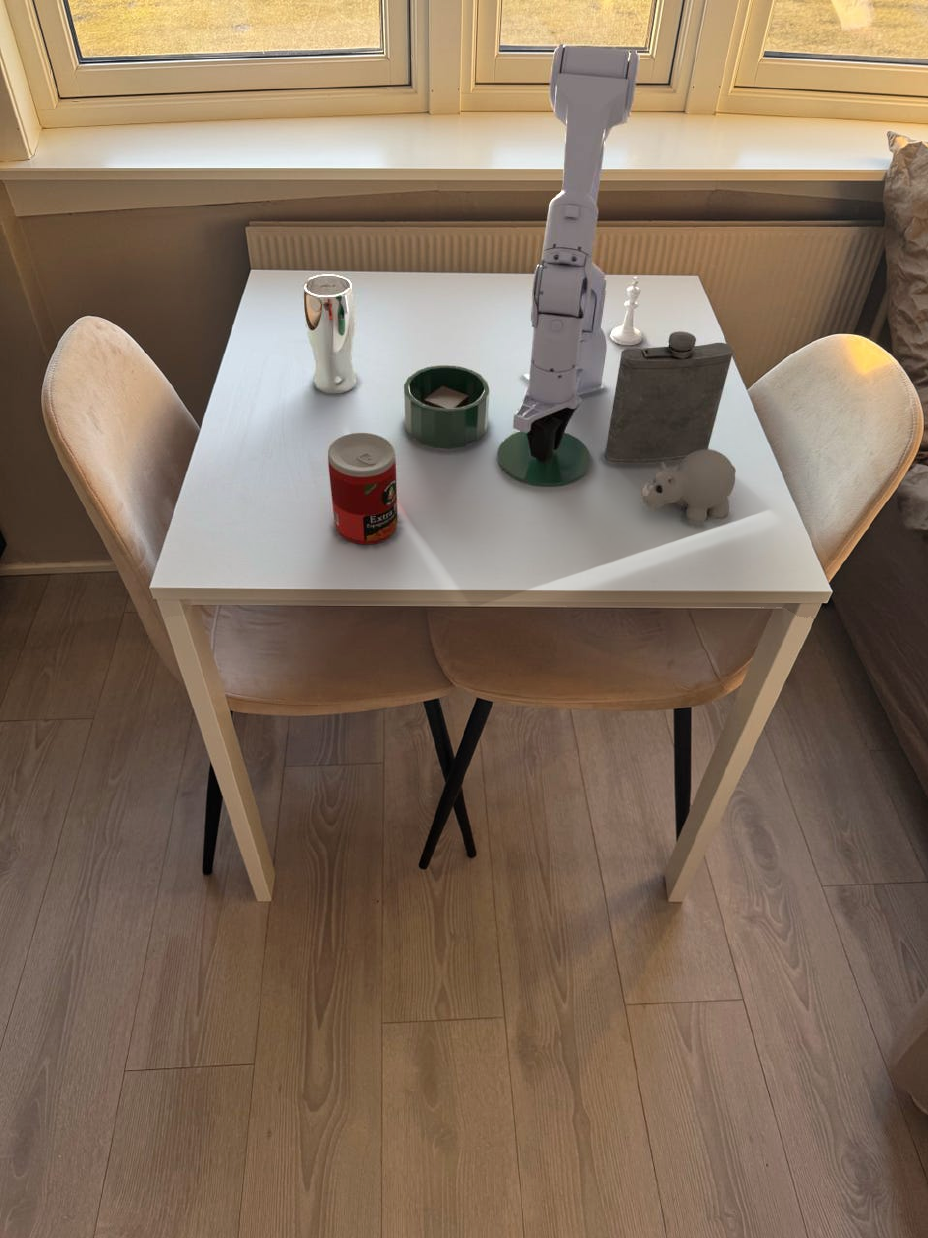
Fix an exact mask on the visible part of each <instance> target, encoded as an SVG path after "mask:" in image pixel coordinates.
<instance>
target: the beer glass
mask: <svg viewBox="0 0 928 1238" xmlns="http://www.w3.org/2000/svg"><path fill="white" fill-rule="evenodd" d="M352 286H353V285H352V283H351V281H350V280H349V279H347V278H345V277H343V276H340V275H336V274H321V275H316V276H313V277H310V278H308V279H307V280H306V281H305V282H304V283H303V284H302V290H303V294H302V295H303V299H302V300H303V314H304V323H305V328H306V334H307V336H308V341H309V343H310V346H311V350H312V354H313V357H314V358H313V359H314V366H315V367H314V377H313V378H314V379H313V382H314V383H313V384H314V386H315V388H316V389H317V390H319V391H320V392H322V393H325V394H330V395H337V394H343V393H346V392H349V391H350V390H352V389H353V388H354V387H355V386H356V383H357V379H356V374H355V371H354V367H353V347H354V340H355V339H354V338H355V329H356V327H355V326H356V314H355V301H354V295H353V288H352Z"/></svg>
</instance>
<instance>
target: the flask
mask: <svg viewBox="0 0 928 1238" xmlns="http://www.w3.org/2000/svg"><path fill="white" fill-rule="evenodd" d="M696 343H697V338H696V336H695V335H694V334H692V333H690V332H688V331H680V330H679V331H674V332H671V333H670V334H669V337H668V346H659V347H658V346H657V347H645V348H640V347H639V348H637V347H636V348H635V347H628V348H624V349H623V350H622V351H621V354H620V358H619V359H620V360H619V366H618V370H617V371H618V372H617V377H616V385H615V391H614V396H613V402H612V407H611V408H612V409H611V415H610V420H609V427H608V432H607V440H606V445H605V451H604V457H605V458H606V460H607V461H610V462H611V463H622V464H644V463H645V464H647V463H661V462H672V461H679V460H681V461H682V460H683V459H684V458H685V457H686V456H687V455H689V454H691V453H692V452H695V451H698V450H703V449H709V446H710V442H711V438H712V434H713V431H714V427H715V423H716V419H717V414H718V411H719V406H720V403H721V400H722V396H723V391H724V388H725V385H726V380H727V376H728V373H729V370H730V369H729V368H730V365H731V361H732V357H733V353H734V347H733V346H731V345H730V344H728V343H725V342H713V343H707V344H702V345H701V344H700V345H696Z"/></svg>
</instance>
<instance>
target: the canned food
mask: <svg viewBox="0 0 928 1238" xmlns="http://www.w3.org/2000/svg"><path fill="white" fill-rule="evenodd" d="M396 459H397V457H396V451H395V447H394V445H393V444H392V443H391V441H389V440H388V439H387V438H384V437H383V436H380V435H378V434H375V433H369V432H353V433H349V434H345V435H342V436H340V437H338V438H336V439H335V440H334V441H332V443H331V444H330V445H329V447H328V450H327V462H328V463H327V464H328V474H329V485H330V494H331V504H332V513H333V523H334V527H335V528H336V531H337V532H338V533H339V535H340V536H341V537H342V538H344V539H345V540H347V541H349V542H350V543H354V544H360V545H374V544H378V543H382V542H384V541H386V540H387V539H389V538H391V536H393V534H394V533H395V531H396V528H397V526H398V491H397V490H398V489H397V460H396Z"/></svg>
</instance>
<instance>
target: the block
mask: <svg viewBox="0 0 928 1238" xmlns="http://www.w3.org/2000/svg"><path fill="white" fill-rule="evenodd" d="M468 401H469V396H468V395H465V394H463V393H460V392H457V391H455V390H452V389H450V388H447V387H445V386H441V387H440V388H439V389H437V390H436V391H435V392H433V393H432V394H431V395H430V396H428V397H427V398H426V399H424V404H425V405H428V406H432V407H435V408H447V409H452V408H459V407H464V406H467V405H468Z"/></svg>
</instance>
